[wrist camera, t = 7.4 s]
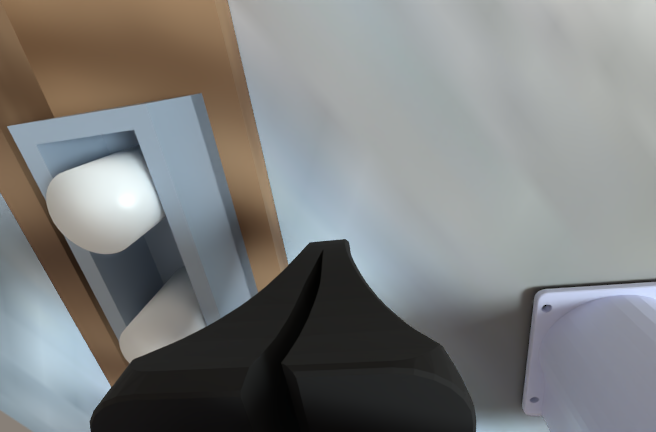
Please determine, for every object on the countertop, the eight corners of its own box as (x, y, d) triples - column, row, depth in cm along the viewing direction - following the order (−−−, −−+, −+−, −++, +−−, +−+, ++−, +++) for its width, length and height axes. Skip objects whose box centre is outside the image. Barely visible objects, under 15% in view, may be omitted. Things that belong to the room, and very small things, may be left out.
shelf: (311, 364, 22) (301, 424, 18) (169, 370, 23) (134, 426, 20) (216, -48, 13) (161, -91, 10) (-1, 0, 15) (-121, -20, 11)
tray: (266, 320, 19) (235, 402, 14) (182, 325, 19) (128, 405, 15) (201, 93, 14) (125, 107, 9) (94, 110, 15) (-25, 131, 10)
